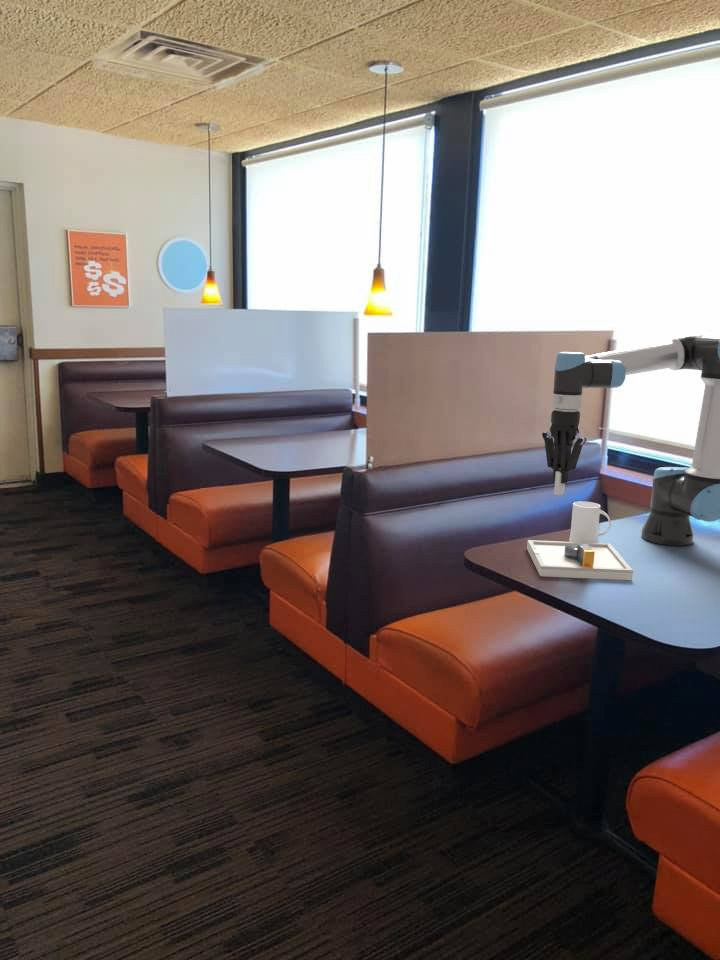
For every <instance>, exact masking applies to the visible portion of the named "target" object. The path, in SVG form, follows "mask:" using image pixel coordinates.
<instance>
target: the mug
mask: <svg viewBox="0 0 720 960" xmlns="http://www.w3.org/2000/svg"><path fill="white" fill-rule="evenodd" d="M600 515H603V516H605V517H606V518H607V521H608V527H607V529H606V530H604V531H602V532H599V525H600ZM611 522H612V521H611V518H610V516H609V515H608V513H606V512H605V511H604V510H602V509H601V504H599V503H597V502H592V501H586V500H585V501H583V500H582V501H581V500H580V501H574V502H573V503H572V512H571V525H570V535H569V538H568V542H586V543H599V540H598V537H600V536H603V535H605V534H606V535H607V533H608V532H609V530H610V528H611V525H612V523H611Z"/></svg>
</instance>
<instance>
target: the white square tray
mask: <svg viewBox="0 0 720 960" xmlns="http://www.w3.org/2000/svg"><path fill="white" fill-rule="evenodd" d="M526 543H527V544H526V545H527V546H526V549H527V552H528V554H529V557H530V558H531V560H532V562H533V564H534V566H535V568H536V570H537V573H538V574H539V576H540V577H546V578H547V577H551V578H570V579H571V578H574V579H591V580H592V579H595V580H611V581H612V580H613V581H614V580H615V581H616V580H617V581H618V580H620V581H633V577H634V576H633V575H634V574H633V573H634V570H633V568H632V567H631V566H630V565H629V564H628V563H627V561H626V560H625V559H624V558H623V557H622V555H620V554H619V552H618V551H617V550H616V549H615V548H614V546H613V545H612V544H611V543H605V542H598V543H586V542H570V541H562V540H561V541H559V540H558V541H557V540H540V539H539V540H538V539H537V540H535V539H533V540H532V539H527V542H526ZM578 544H587V545H589V546H590V547H591V548H592V549H593V550H594V551H595V554H594V565H593V567H591V566H582V565H581V564H580V563H579V562H578V561H577V559H574V558H569V557H567V556H565V555H564V552H565V546H567V545H578Z"/></svg>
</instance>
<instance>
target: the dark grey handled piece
mask: <svg viewBox="0 0 720 960" xmlns="http://www.w3.org/2000/svg"><path fill="white" fill-rule="evenodd" d="M594 554H595V551H594V550H593V549H592V548H591V547H590V546H589V545H587V544H578V545H567V546H565V552H564V555H565V556H567V557H569V558H574V559H577V561H578V562H579V563H580V564H581V565H582V566H591V567H593V565H594Z"/></svg>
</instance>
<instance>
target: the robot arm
mask: <svg viewBox="0 0 720 960" xmlns="http://www.w3.org/2000/svg"><path fill="white" fill-rule="evenodd" d="M553 369H554V378H553V393H552V404H551V405H552V406H551V407H552V408H553V409H552V410H551V415H550V423H551V425H550V427H549V430H548V431H546V432H545V431H543V432H542V433H541V435H542V439H543V441H544V447H545V454H546V455H545V456H546V463H547V464H546V465H547V467H548V468H551V469H552V470H553V477H552V481H553V482H554V489H553V490H554V491H553V495H555V496H562V495H564V494H565V489H566V488H565V486H566V484H567V483H568V482H569V481H568V479H569V472H571V471H575V470H576V467H577V465H578V461H579V458H580V455H581V451H582V449H583V445H585V443H586V442H587V437H584V436H582V435H581V434H580V430H579V425H580V420H581V419H580V418H581V412H580V411H579V410H580V409H581V408H582V396H583V389H589V388H590V389H592V388H593V389H614V388H615V389H616V388H619V387H621V386H622V385H623V384H624V382H625V380H626V377H627V376H628V375H635V374H641V373H647V372H651V371H652V372H653V371H658V370H665V369H670V370H672V371H679V370H695V371H700V372H701V374H700V379H701V380H702V381H703V383H704V390H703V391H704V392H703V397H702V402H701V408H700V409H701V410H700V414H699V421H698V427H697V433H696V440H695V444H694V450H693V456H692V461H691V462H692V463H691V466H690V467H685V466H684V467H681V466H680V467H679V466H663V467H662V466H661V467H658V468H656V469H655V470H654V473H653V478H652V485H651V487H652V488H651V498H650V500H651V501H650V507H649V513H648V516H647V518H646V520H645V522H644V525H643V526H642V528H641V538H642V539H643V540H645V541H648V542H651V543H654V544H658V545H663V546H671V547H672V546H673V547H675V546H676V547H679V546H681V547H683V546H689V545H691V544H693V541H694V533H693V528H692V524H691V518H690V517H692V518H694V519H696V520H698V521H703V522H711V523H712V522H716V521H719V520H720V331H719V330H717V331H716V330H714V331H713V330H703V331H698V332H697V331H696V332H694V333H688V334H685V335H680V336H675V337H671V338H668V339H667V340H666V341H665V342H661V343H655V344H648V345H642V346H636V347H631V348H626V349H625V348H624V349H620V350H613V351H606V352H601V353H596V354H594V353H593V354H591V355H590V354H589V355H585V353H583V352H579V351H578V352H576V351H575V352H574V351H573V352H571V351H560V352H559V353H557V355H556V358H555V365H554V368H553ZM573 442H574V444H573Z"/></svg>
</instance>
